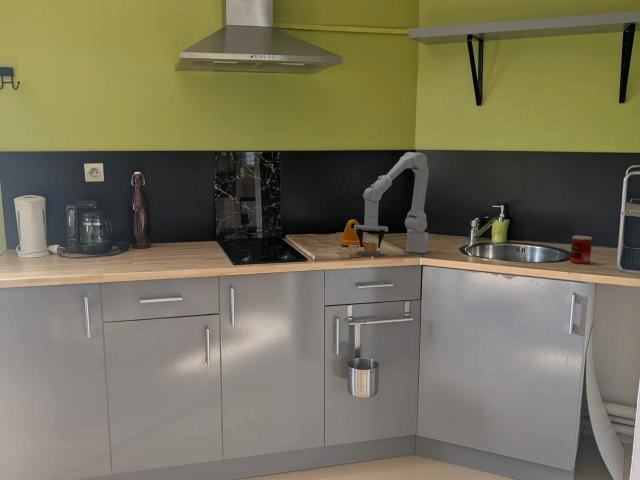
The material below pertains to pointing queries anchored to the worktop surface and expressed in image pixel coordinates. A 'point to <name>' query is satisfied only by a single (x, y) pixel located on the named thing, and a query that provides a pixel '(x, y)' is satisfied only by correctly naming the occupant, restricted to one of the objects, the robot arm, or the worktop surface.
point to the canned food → (581, 249)
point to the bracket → (350, 235)
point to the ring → (370, 247)
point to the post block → (369, 253)
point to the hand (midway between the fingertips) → (370, 247)
